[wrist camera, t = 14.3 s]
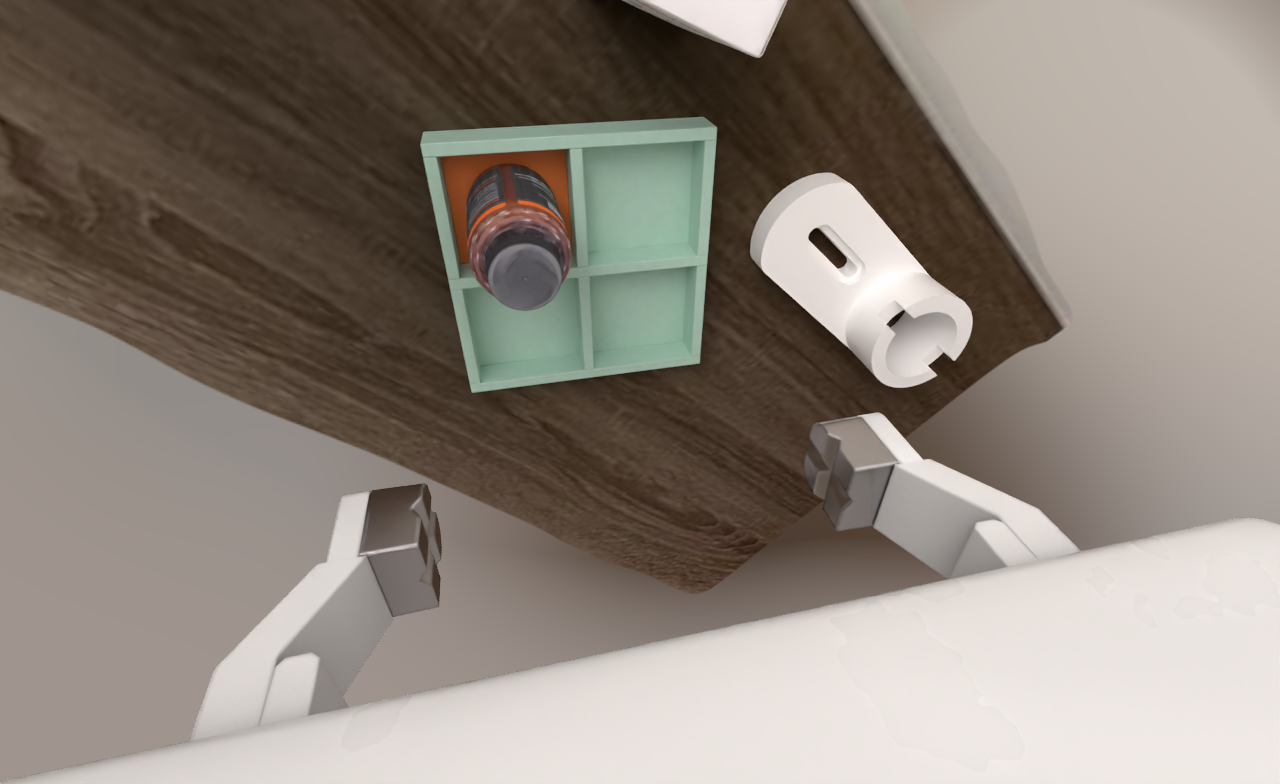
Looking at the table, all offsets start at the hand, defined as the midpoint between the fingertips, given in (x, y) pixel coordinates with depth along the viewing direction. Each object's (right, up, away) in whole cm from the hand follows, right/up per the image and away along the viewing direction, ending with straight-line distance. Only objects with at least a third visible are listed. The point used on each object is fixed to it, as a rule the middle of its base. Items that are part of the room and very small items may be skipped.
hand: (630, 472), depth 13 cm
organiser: (-4, +12, +32) cm, 35 cm away
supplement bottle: (-9, +14, +29) cm, 33 cm away
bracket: (+17, +12, +39) cm, 44 cm away
